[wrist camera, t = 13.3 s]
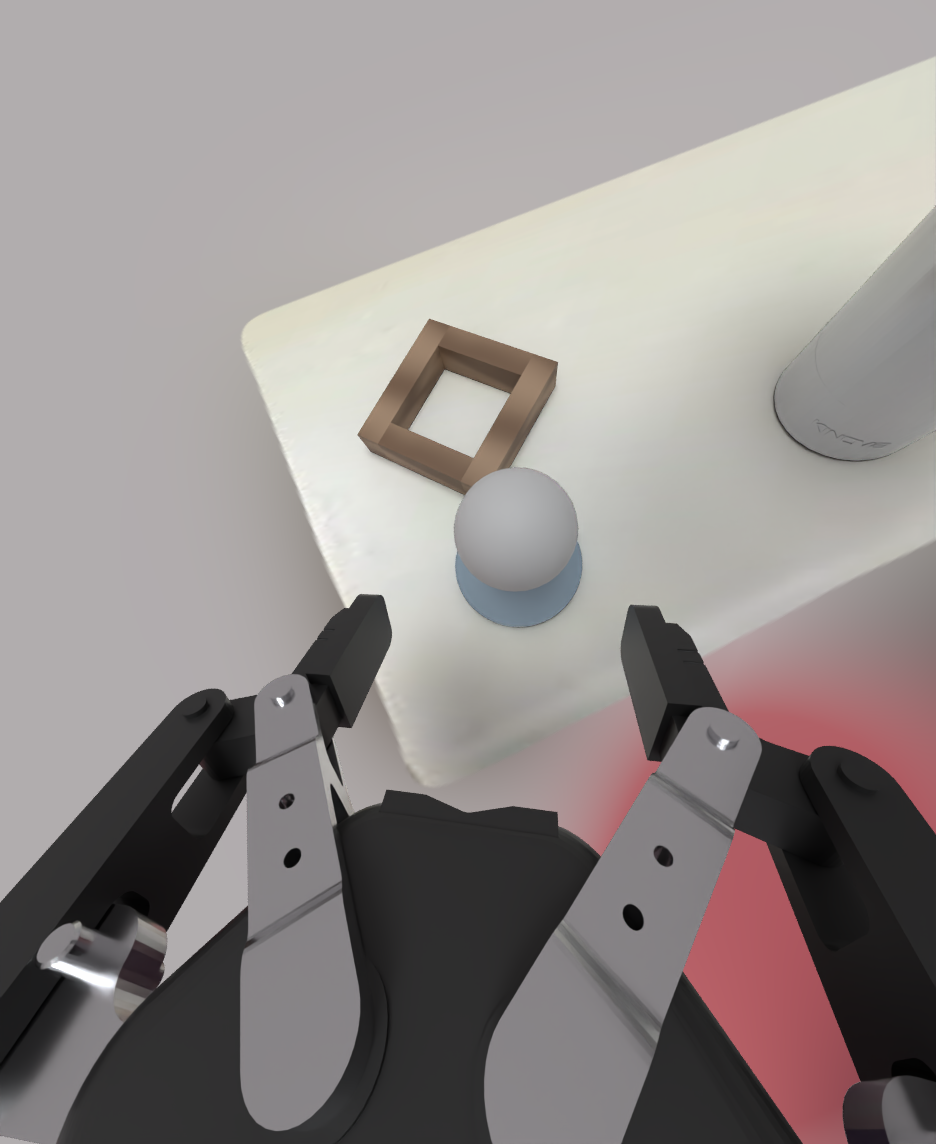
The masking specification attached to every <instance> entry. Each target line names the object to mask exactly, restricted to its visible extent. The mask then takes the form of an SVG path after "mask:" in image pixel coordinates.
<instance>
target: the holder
mask: <svg viewBox="0 0 936 1144" xmlns="http://www.w3.org/2000/svg"><path fill="white" fill-rule="evenodd" d="M557 365H558V362H556V361H553V360H550V359H547V358H544V357H541V356H538V355H535V354H532V353H529V352H526V351H523V350H520V349H517V348H514V347H511V346H508V345H505V344H503V343H500V342H497V341H494V340H491V339H488V338H485V337H482V336H479V335H476V334H473V333H470V332H467V331H464V330H461V329H458V328H455V327H452V326H449V325H446V324H443V323H440V322H437V321H434V320H431V319H429V320H428V322H427V323H426V325H425V326H424V328H423V330H422V331H421V333H420V334H419V336H418V338H417V339H416V341H415V342H414V344H413V346H412V347H411V349H410V351H409V352H408V354H407V355H406V357H405V359H404V360H403V362H402V363H401V365H400V367H399V368H398V370H397V372H396V373H395V375H394V376H393V378H392V380H391V381H390V383H389V384H388V386H387V388H386V389H385V391H384V392H383V394H382V396H381V397H380V399H379V401H378V402H377V404H376V405H375V407H374V409H373V410H372V412H371V413H370V415H369V417H368V418H367V420H366V422H365V423H364V425H363V426H362V428H361V430H360V431H359V433H358V434H357V435H358V436H359V437H360V439H361V440H362V441H363V442H364V444H365V445H366V446H367V447H368V449H369V450H370V451H371V452H373V453H375V454H377V455H380V456H382V457H384V458H386V459H388V460H390V461H393V462H395V463H397V464H399V465H401V466H403V467H406V468H408V469H410V470H412V471H414V472H416V473H419V474H421V475H423V476H425V477H427V478H429V479H431V480H434V481H436V482H438V483H440V484H442V485H444V486H447V487H449V488H451V489H453V490H455V491H457V492H460V493H462V494H464V495H466V493H467V492H468V491H469V489H470V488H471V487H472V486H473V485H474V484H475V483H476V482H478V481H479V480H480V479H481V478H483V477H484V476H486V475H488V474H490V473H492V472H495V471H498V470H501V469H506V468H510V466H511V464H512V462H513V460H514V459H515V457H516V455H517V453H518V452H519V450H520V448H521V446H522V444H523V443H524V441H525V439H526V437H527V435H528V434H529V432H530V430H531V428H532V426H533V425H534V423H535V421H536V419H537V418H538V416H539V414H540V412H541V410H542V409H543V407H544V405H545V403H546V401H547V400H548V398H549V396H550V394H551V393H552V391H553V389H554V387H555V384H556V375H557ZM444 369H446V370H449V371H452V372H455V373H457V374H460V375H463V376H465V377H468V378H471V379H473V380H476V381H479V382H481V383H484V384H487V385H490V386H492V387H495V388H498V389H500V390H503V391H506V392H508V393H511V394H510V396H509V398H508V399H507V401H506V403H505V405H504V406H503V408H502V410H501V412H500V413H499V415H498V417H497V419H496V420H495V422H494V424H493V426H492V427H491V429H490V431H489V433H488V434H487V436H486V438H485V440H484V441H483V443H482V445H481V447H480V448H479V450H478V452H477V454H476V455H475V457H474V458H472V457H469V456H467V455H465V454H462V453H460V452H458V451H455V450H453V449H451V448H448V447H446V446H444V445H441V444H439V443H437V442H435V441H432V440H430V439H428V438H425V437H423V436H421V435H418V434H416V433H414V432H411V431H409V430H408V429H409V427H410V425H411V424H412V422H413V420H414V419H415V417H416V415H417V414H418V412H419V410H420V409H421V407H422V405H423V404H424V402H425V400H426V399H427V397H428V396H429V394H430V392H431V391H432V389H433V387H434V386H435V384H436V382H437V381H438V379H439V377H440V376H441V374H442V372H443V371H444Z"/></svg>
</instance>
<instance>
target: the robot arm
mask: <svg viewBox="0 0 936 1144" xmlns="http://www.w3.org/2000/svg"><path fill="white" fill-rule="evenodd" d="M774 398H775V408H776V411H777V414H778V417H779V420H780V421H781V423H782V424H783V426H784V427H785V429H786V430H787V431H788V432H789V433H790V434H791V435H792V436H793V437H794V438H795V439H796V440H797V441H798V442H800V443H801V444H803V445H804V446H806V447H807V448H809V449H811V450H813V451H815V452H818V453H820V454H822V455H825V456H829V457H833V458H837V459H843V460H855V461H858V460H869V459H876V458H879V457H883V456H887V455H890V454H892V453H894V452H896V451H898V450H900V449H902V448H904V447H906V446H908V445H910V444H912V443H913V442H915V441H917V440H919V439H921V438H923V437H925V436H926V435H928V434H930V433H932V432H934V431H936V206H935V207H934V208H933V209H932V210H931V211H930V212H929V214H928V215H927V216H926V217H925V218H924V219H923V220H922V221H921V222H920V223H919V224H918V225H917V227H916V228H915V229H914V230H913V231H912V232H911V233H910V234H909V235H908V236H907V237H906V239H905V240H904V241H903V242H902V243H901V244H900V245H899V246H898V247H897V248H896V249H895V251H894V252H893V253H892V254H891V255H890V256H889V257H888V258H887V259H886V260H885V261H884V262H883V264H882V265H881V266H880V267H879V268H878V269H877V270H876V271H875V272H874V273H873V274H872V276H871V277H870V278H869V279H868V280H867V281H866V282H865V283H864V284H863V285H862V286H861V288H860V289H859V290H858V291H857V292H856V293H855V294H854V295H853V296H852V297H851V298H850V300H849V301H848V302H847V303H846V304H845V305H844V306H843V307H842V308H841V309H840V310H839V311H838V313H837V314H836V315H835V316H834V317H833V318H832V319H831V320H830V321H829V322H828V323H827V324H826V325H825V326H824V327H823V328H822V330H821V331H820V332H819V333H818V334H817V335H816V336H815V337H814V338H813V339H812V341H811V342H810V343H809V344H808V345H807V346H806V347H805V348H804V349H803V350H802V351H801V353H800V354H799V355H798V356H797V357H796V358H795V359H794V360H793V361H792V362H791V364H790V365H789V366H788V367H787V368H786V369H785V371H784V372H783V373H782V374H781V376H780V378H779V380H778V382H777V385H776V390H775V395H774ZM391 638H392V629H391V625H390V621H389V617H388V613H387V609H386V605H385V601H384V598H383V596H382V595H368V594H360V595H358V596H357V597H356V599H355V600H354V602H353V603H352V605H351V606H350V608H344V609H342V610H341V611H340V612H338V613H337V614H336V615H335V616H333V617H332V618H331V619H330V621H329V622H328V624H327V625H326V626H325V628H324V631H322V632H321V633H320V635H319V636H318V638H317V640H316V641H315V642H314V643H313V645H312V646H311V647H310V649H309V650H308V652H307V653H306V654H305V656H304V657H303V659H302V660H301V662H300V663H299V664H298V666H297V667H296V668H295V670H294V671H293V673H292V674H290V675H285V676H282V677H279V678H277V679H275V680H273V681H271V682H270V683H269V684H267V685H266V686H265V687H264V688H263V689H262V690H261V691H260V692H259V693H258V695H254V696H249V697H244V698H239V699H234V700H229V699H228V698H227V696H226V695H225V693H224V692H223V691H222V690H219V689H206V690H203V691H200V692H197V693H195V694H193V695H191V696H189V697H188V698H186V699H184V700H183V701H182V702H180V703H179V704H178V705H177V706H176V707H175V708H174V709H173V710H172V711H171V712H170V713H169V714H168V716H167V717H166V718H165V719H164V720H163V721H162V722H161V724H160V725H159V726H158V727H157V728H156V729H155V730H154V731H153V732H152V734H151V735H150V736H149V737H148V738H147V739H146V740H145V741H144V742H143V744H142V745H141V746H140V747H139V748H138V749H137V750H136V751H135V753H134V754H133V755H132V756H131V757H130V758H129V759H128V760H127V761H126V763H125V764H124V765H123V766H122V767H121V768H120V769H119V771H118V772H117V773H116V774H115V775H114V776H113V777H112V778H111V780H110V781H109V782H108V783H107V784H106V785H105V786H104V787H103V788H102V790H100V792H99V793H98V794H97V795H96V796H95V797H94V798H93V800H92V801H91V802H90V803H89V804H88V805H87V806H86V807H85V809H84V810H83V811H82V812H81V813H80V814H79V815H78V816H77V817H76V819H75V820H74V821H73V822H72V823H71V824H70V825H69V826H68V827H67V829H66V830H65V831H64V832H63V833H62V834H61V835H60V836H59V837H58V839H57V840H56V841H55V842H54V843H53V844H52V845H51V847H50V848H49V849H48V850H47V851H46V852H45V853H44V854H43V855H42V857H41V858H40V859H39V860H38V861H37V862H36V863H35V864H34V865H33V867H32V868H31V869H30V870H29V871H28V872H27V873H26V874H25V876H24V877H23V878H22V879H21V880H20V881H19V882H18V883H17V884H16V886H15V887H14V888H13V889H12V890H11V891H10V892H9V893H8V894H7V896H6V897H5V898H4V899H3V900H2V901H1V903H0V1136H5V1137H10V1138H15V1139H19V1140H24V1141H29V1142H34V1143H39V1144H803V1143H802V1142H801V1140H800V1139H799V1138H798V1136H797V1135H796V1133H795V1132H794V1130H793V1129H792V1127H791V1126H790V1125H789V1123H788V1122H787V1120H786V1119H785V1117H784V1116H783V1114H782V1113H781V1112H780V1110H779V1109H778V1107H777V1106H776V1105H775V1103H774V1102H773V1100H772V1099H771V1097H770V1096H769V1094H768V1093H767V1092H766V1090H765V1089H764V1088H763V1086H762V1084H761V1083H760V1082H759V1080H758V1079H757V1077H756V1076H755V1074H754V1073H753V1072H752V1070H751V1069H750V1067H749V1066H748V1064H747V1063H746V1061H745V1060H744V1059H743V1057H742V1056H741V1055H740V1053H739V1051H738V1050H737V1049H736V1047H735V1046H734V1044H733V1043H732V1041H731V1040H730V1039H729V1037H728V1036H727V1034H726V1033H725V1031H724V1030H723V1029H722V1027H721V1026H720V1025H719V1023H718V1021H717V1020H716V1018H715V1017H714V1016H713V1014H712V1013H711V1011H710V1010H709V1008H708V1007H707V1006H706V1004H705V1003H704V1002H703V1000H702V998H701V997H700V996H699V994H698V993H697V991H696V990H695V989H694V987H693V986H692V984H691V983H690V981H689V980H688V979H687V977H686V975H685V974H684V973H683V968H684V966H685V963H686V960H687V958H688V955H689V953H690V950H691V947H692V945H693V942H694V940H695V937H696V934H697V931H698V929H699V927H700V924H701V921H702V919H703V916H704V913H705V911H706V908H707V905H708V903H709V900H710V898H711V895H712V892H713V890H714V887H715V885H716V882H717V879H718V877H719V874H720V871H721V869H722V866H723V863H724V861H725V858H726V856H727V853H728V850H729V848H730V845H731V842H732V839H733V836H734V832H735V829H737V830H740V831H742V832H744V833H746V834H749V835H751V836H753V837H756V838H758V839H760V840H762V841H765V842H766V843H767V845H768V848H769V850H770V853H771V855H772V858H773V860H774V863H775V866H776V868H777V870H778V873H779V875H780V878H781V881H782V883H783V886H784V888H785V891H786V893H787V896H788V899H789V901H790V904H791V906H792V909H793V911H794V914H795V916H796V919H797V921H798V924H799V926H800V929H801V931H802V934H803V937H804V939H805V941H806V944H807V946H808V949H809V952H810V954H811V956H812V959H813V962H814V964H815V967H816V970H817V972H818V974H819V977H820V979H821V982H822V985H823V987H824V990H825V992H826V995H827V997H828V1000H829V1002H830V1005H831V1008H832V1010H833V1013H834V1015H835V1018H836V1020H837V1023H838V1025H839V1028H840V1030H841V1033H842V1035H843V1038H844V1040H845V1043H846V1046H847V1048H848V1051H849V1053H850V1056H851V1058H852V1060H853V1063H854V1066H855V1068H856V1071H857V1073H858V1076H859V1079H860V1081H861V1082H858V1083H856V1084H854V1085H852V1086H851V1087H850V1088H849V1089H848V1091H847V1093H846V1095H845V1097H844V1102H843V1123H844V1130H845V1134H846V1137H847V1142H848V1144H936V834H935V833H934V831H933V830H932V829H931V827H930V826H929V825H928V823H927V822H926V821H925V819H924V818H923V816H922V815H921V814H920V812H919V811H918V810H917V808H916V807H915V806H914V804H913V803H912V801H911V800H910V799H909V797H908V796H907V795H906V793H905V792H904V791H903V789H902V788H901V787H900V785H899V784H898V783H897V782H896V780H895V779H894V778H893V777H891V775H890V774H889V773H887V772H886V771H885V770H884V769H883V768H881V767H880V766H878V765H877V764H876V763H874V762H873V761H871V760H869V759H868V758H866V757H864V756H862V755H860V754H858V753H856V752H853V751H851V750H848V749H844V748H840V747H836V746H822V747H819V748H817V749H815V750H814V751H813V752H812V754H811V755H810V756H808V755H804V754H802V753H798V752H795V751H793V750H790V749H787V748H784V747H781V746H778V745H775V744H772V743H769V742H767V741H765V740H762V739H760V738H758V736H757V734H756V733H755V732H754V730H753V729H752V728H751V727H750V726H749V725H748V724H747V723H746V722H744V721H743V720H742V719H741V718H739V717H737V716H736V715H734V714H732V713H730V712H729V711H728V709H727V707H726V705H725V703H724V701H723V700H722V697H721V696H720V694H719V691H718V690H717V688H716V686H715V684H714V682H713V680H712V678H711V676H710V674H709V672H708V670H707V668H706V666H705V665H704V664H703V660H702V658H701V656H700V654H699V653H698V652H697V651H698V650H697V648H696V646H695V644H694V642H693V640H692V638H691V636H690V635H689V634H688V633H686V632H685V631H684V630H683V629H682V628H681V627H680V626H679V625H678V624H674V623H665V620H664V618H663V616H662V614H661V611H660V609H659V607H658V606H646V605H630V606H629V608H628V612H627V617H626V622H625V626H624V631H623V636H622V640H621V660H622V664H623V668H624V672H625V676H626V679H627V683H628V687H629V691H630V695H631V699H632V702H633V706H634V710H635V714H636V718H637V722H638V726H639V729H640V733H641V737H642V741H643V745H644V749H645V753H646V756H647V760H650V761H659V762H661V764H660V766H659V767H658V769H657V771H656V772H655V773H652V774H651V776H650V777H649V779H648V780H647V782H646V783H645V785H644V787H643V789H642V790H641V792H640V793H639V795H638V797H637V798H636V800H635V802H634V803H633V805H632V807H631V808H630V810H629V812H628V813H627V815H626V816H625V818H624V820H623V821H622V823H621V825H620V826H619V828H618V830H617V831H616V833H615V835H614V836H613V838H612V840H611V841H610V843H609V845H608V846H607V848H606V850H605V851H604V853H603V854H602V856H600V855H599V854H598V853H597V852H596V851H595V850H594V849H593V848H591V847H590V846H589V845H588V844H587V843H586V842H584V841H583V840H582V839H580V838H579V837H578V836H576V835H574V834H573V833H571V832H569V831H568V830H566V829H564V828H561V827H559V826H558V814H557V812H552V811H545V810H537V809H530V808H521V807H515V806H512V807H506V808H498V809H492V810H485V811H479V812H472V813H466V812H463V811H461V810H458V809H456V808H454V807H452V806H450V805H447V804H445V803H443V802H441V801H438V800H436V799H434V798H432V797H430V796H427V795H423V794H416V793H408V792H401V791H393V790H386V793H385V796H384V799H383V802H382V803H379V804H376V805H372V806H369V807H366V808H364V809H362V810H359V811H358V812H356V813H354V810H353V807H352V804H351V801H350V799H349V795H348V792H347V788H346V784H345V780H344V776H343V772H342V767H341V763H340V760H339V755H338V751H337V747H336V743H335V740H334V737H333V736H334V734H335V732H336V730H337V728H338V727H346V728H352V726H353V724H354V722H355V720H356V717H357V715H358V713H359V711H360V709H361V707H362V705H363V702H364V700H365V698H366V696H367V694H368V692H369V689H370V687H371V685H372V683H373V681H374V679H375V677H376V674H377V672H378V670H379V668H380V666H381V664H382V662H383V659H384V657H385V655H386V653H387V651H388V649H389V646H390V644H391ZM199 764H200V765H201V767H202V768H203V769H202V770H201V772H200V773H199V775H198V776H197V778H196V779H195V780H194V782H193V783H192V785H191V786H190V787H189V789H188V790H187V792H186V793H185V794H184V796H183V797H182V799H181V800H180V802H179V803H178V804H177V806H176V807H175V809H174V810H173V812H172V813H171V809H172V804H173V802H174V799H175V797H176V796H177V794H178V793H179V791H180V790H181V789H182V787H183V786H184V784H185V783H186V782H187V780H188V779H189V777H190V776H191V775H192V773H193V772H194V771H195V769H196V768H197V766H198V765H199ZM246 792H247V853H248V854H247V855H248V906H247V907H246V908H245V909H244V910H243V911H241V912H240V913H239V914H238V915H237V916H236V917H235V918H234V919H232V920H231V921H230V922H229V923H228V924H227V925H226V926H225V927H224V928H223V929H221V930H220V931H219V932H218V933H217V934H216V935H215V936H214V937H213V938H212V939H211V940H209V941H208V942H207V943H206V944H205V945H204V946H203V947H202V948H200V949H199V950H198V951H197V952H196V953H195V954H194V955H193V956H192V957H191V958H189V959H188V960H187V961H186V962H185V963H184V964H183V965H182V966H181V967H180V968H178V969H177V970H176V971H175V972H174V973H173V974H172V975H171V976H170V977H169V978H167V979H166V980H165V981H164V982H163V983H162V984H161V985H160V986H159V987H158V985H159V984H160V982H161V980H162V977H163V975H164V970H165V967H164V963H163V960H164V957H165V954H166V949H167V933H166V932H167V930H168V929H169V927H170V925H171V923H172V922H173V920H174V918H175V916H176V915H177V913H178V911H179V909H180V908H181V906H182V904H183V902H184V901H185V899H186V897H187V895H188V894H189V892H190V890H191V888H192V887H193V885H194V883H195V882H196V880H197V878H198V876H199V875H200V873H201V871H202V869H203V867H204V866H205V864H206V862H207V861H208V859H209V857H210V855H211V854H212V851H213V850H214V848H215V847H216V845H217V843H218V841H219V840H220V838H221V836H222V834H223V833H224V831H225V829H226V827H227V826H228V824H229V822H230V820H231V818H232V817H233V815H234V813H235V811H236V810H237V808H238V806H239V805H240V803H241V801H242V799H243V797H244V796H245V794H246ZM734 828H735V829H734Z"/></svg>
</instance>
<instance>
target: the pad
mask: <svg viewBox="0 0 936 1144" xmlns="http://www.w3.org/2000/svg"><path fill="white" fill-rule="evenodd" d="M455 568H456V577H457V581H458V584H459V587H460V590H461V592H462V594H463V596H464V597H465V599H466V600H467V601H468V603H469V604H470V605H471V606H472V607H473V608H474V609H475V610H476V611H477V612H478V613H480V614H481V615H482V616H484V617H485V618H487V619H489V620H491V621H493V622H495V623H498V624H501V625H504V626H510V627H528V626H533V625H537V624H540V623H542V622H545V621H547V620H549V619H550V618H552V617H554V616H555V615H556V614H558V613H559V612H560V611H561V610H562V609H563V608H564V607H565V606H566V605H567V604H568V602H569V601H570V600H571V599H572V597H573V595H574V594H575V592H576V590H577V587H578V585H579V582H580V578H581V573H582V556H581V550H580V547H579V544H578V542H577V543H576V546H575V550H574V552H573V554H572V556H571V558H570V560H569V562H568V563H567V565H566V566H565V567H564V569H563V570H562V571H561V572H560V573H559V574H558V575H557V576H556V577H555V578H553V579H552V580H551V581H549V582H548V583H546V584H544V585H542V586H540V587H538V588H534V589H530V590H527V591H516V592H513V591H504V590H499V589H496V588H493V587H490V586H488V585H487V584H485V583H483V582H481V581H480V580H478V579H477V578H476V577H475V576H474V575H473V574H471V572H470V571H469V570H468V569H467V567H466V566H465V565H464V563H463V562H462V560H461V558H460V556H459V554H458V552H457V555H456V564H455Z"/></svg>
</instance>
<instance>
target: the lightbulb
mask: <svg viewBox="0 0 936 1144" xmlns="http://www.w3.org/2000/svg"><path fill="white" fill-rule="evenodd" d="M577 538H578V522H577V515H576V511H575V508H574V506H573V503H572V501H571V499H570V498H569V496H568V494H567V493H566V492H565V490H564V489H563V488H562V487H561V486H560V485H559V484H558V483H557V482H556V481H555V480H553V479H552V478H550V477H549V476H548V475H546V474H543V473H541V472H539V471H536V470H532V469H528V468H517V467H514V468H506V469H501V470H498V471H495V472H492V473H490V474H488V475H486V476H484V477H483V478H481V479H480V480H479V481H478V482H476V483H475V484H474V485H473V486H472V487H471V488H470V489H469V491H468V492H467V493H466V495H465V496H464V498H463V500H462V501H461V503H460V505H459V507H458V510H457V513H456V517H455V524H454V539H455V544H456V548H457V552H458V554H459V556H460V558H461V560H462V562H463V563H464V565H465V566H466V567H467V569H468V570H469V571H470V572H471V574H473V575H474V576H475V577H476V578H477V579H478V580H480V581H481V582H483V583H485V584H487V585H488V586H490V587H493V588H496V589H499V590H504V591H513V592H516V591H527V590H530V589H534V588H538V587H540V586H542V585H544V584H546V583H548V582H549V581H551V580H552V579H553V578H555V577H556V576H557V575H558V574H559V573H560V572H561V571H562V570H563V569H564V567H565V566H566V565H567V563H568V562H569V560H570V558H571V556H572V554H573V552H574V550H575V546H576V543H577Z"/></svg>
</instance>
